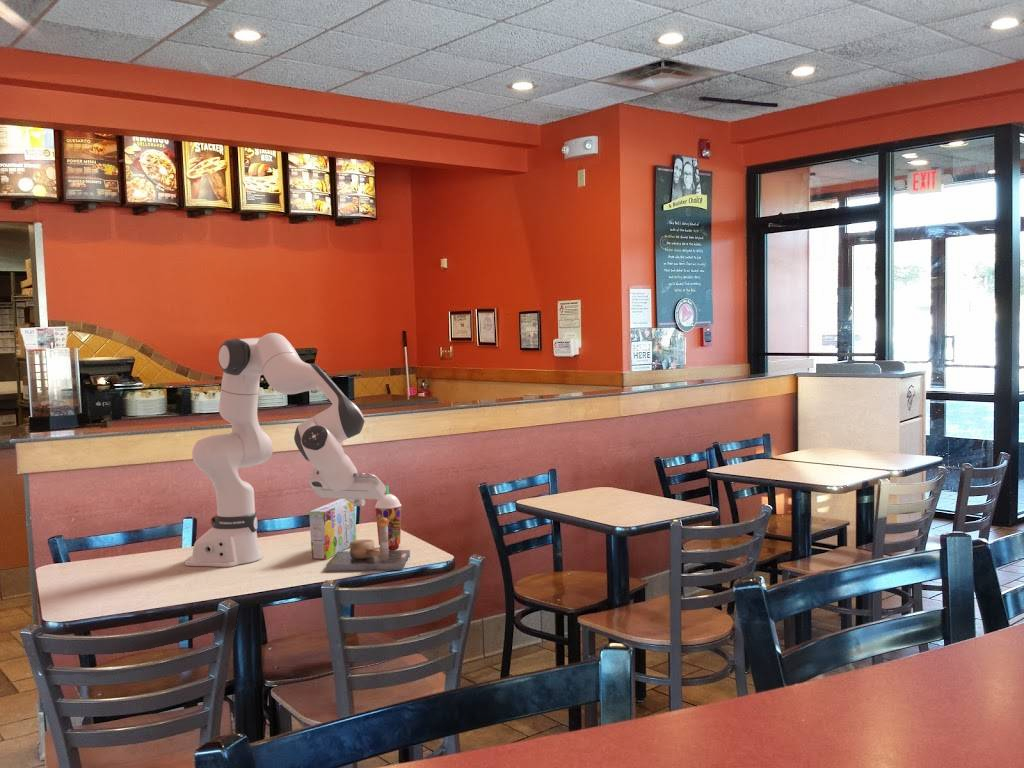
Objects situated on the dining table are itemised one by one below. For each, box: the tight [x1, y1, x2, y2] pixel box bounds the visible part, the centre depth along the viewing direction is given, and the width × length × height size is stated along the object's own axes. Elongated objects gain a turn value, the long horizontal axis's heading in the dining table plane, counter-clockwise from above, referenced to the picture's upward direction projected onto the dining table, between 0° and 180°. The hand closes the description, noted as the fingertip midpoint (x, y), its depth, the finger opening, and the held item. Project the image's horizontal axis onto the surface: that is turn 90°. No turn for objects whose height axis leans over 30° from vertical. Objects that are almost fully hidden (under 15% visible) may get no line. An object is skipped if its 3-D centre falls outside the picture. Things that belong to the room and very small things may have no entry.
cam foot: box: [349, 517, 389, 560], centre depth 265 cm, size 15×7×12 cm, turn 49°
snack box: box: [308, 498, 357, 560], centre depth 284 cm, size 21×6×15 cm, turn 164°
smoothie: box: [374, 485, 402, 550], centre depth 287 cm, size 8×8×20 cm
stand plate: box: [325, 549, 411, 573], centre depth 268 cm, size 22×16×2 cm
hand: (360, 503), depth 249 cm, fingers closed
